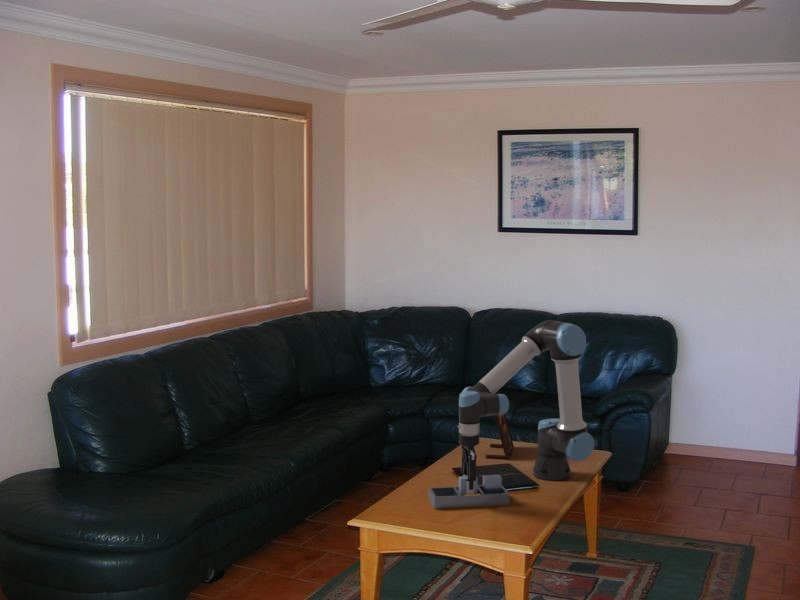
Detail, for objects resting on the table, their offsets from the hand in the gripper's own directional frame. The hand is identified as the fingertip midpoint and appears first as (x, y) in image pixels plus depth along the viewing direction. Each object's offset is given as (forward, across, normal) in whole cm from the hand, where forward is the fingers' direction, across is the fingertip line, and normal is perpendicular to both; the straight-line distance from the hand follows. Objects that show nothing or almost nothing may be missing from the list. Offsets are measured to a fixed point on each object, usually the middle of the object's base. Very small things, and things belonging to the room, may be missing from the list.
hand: (468, 494), depth 336 cm
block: (+1, 0, 0) cm, 1 cm away
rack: (+3, 0, 0) cm, 3 cm away
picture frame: (+3, -61, +29) cm, 68 cm away
